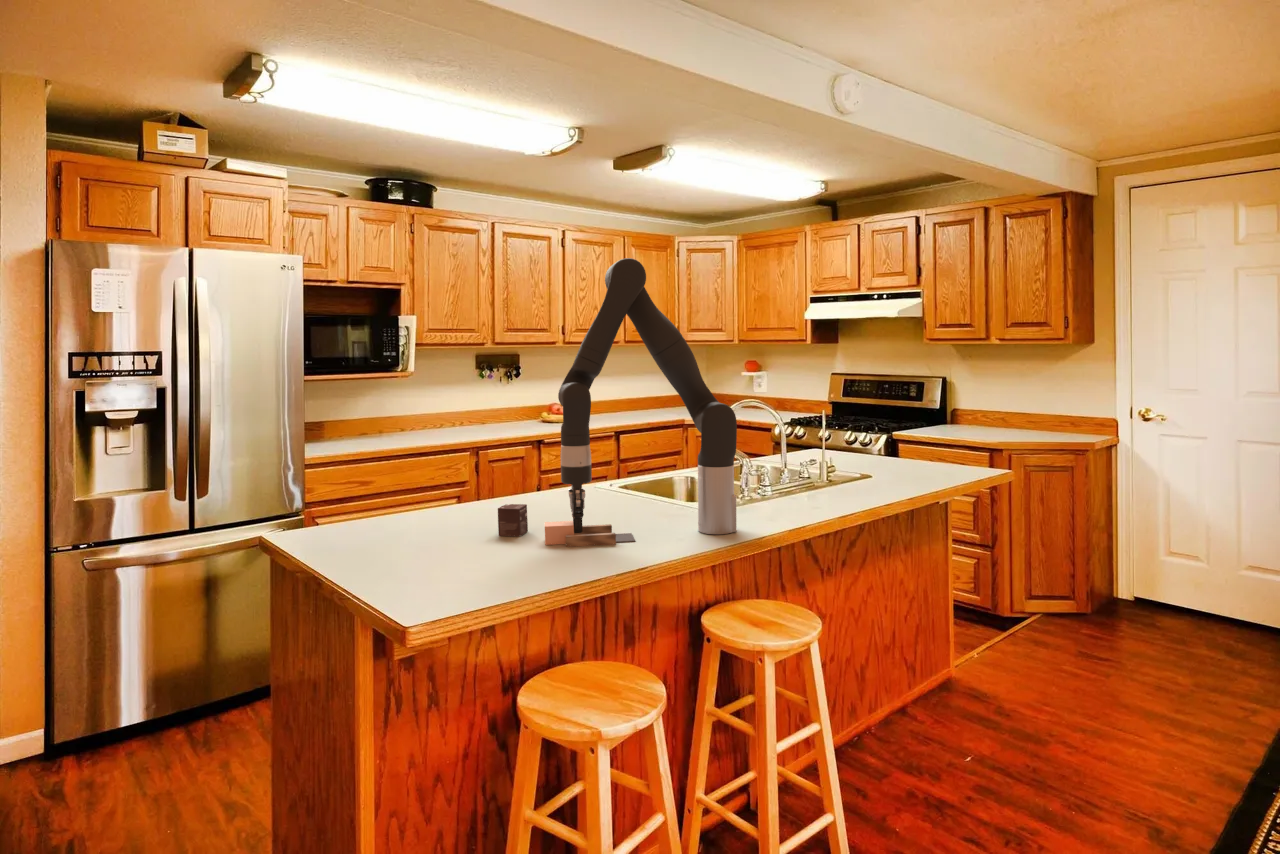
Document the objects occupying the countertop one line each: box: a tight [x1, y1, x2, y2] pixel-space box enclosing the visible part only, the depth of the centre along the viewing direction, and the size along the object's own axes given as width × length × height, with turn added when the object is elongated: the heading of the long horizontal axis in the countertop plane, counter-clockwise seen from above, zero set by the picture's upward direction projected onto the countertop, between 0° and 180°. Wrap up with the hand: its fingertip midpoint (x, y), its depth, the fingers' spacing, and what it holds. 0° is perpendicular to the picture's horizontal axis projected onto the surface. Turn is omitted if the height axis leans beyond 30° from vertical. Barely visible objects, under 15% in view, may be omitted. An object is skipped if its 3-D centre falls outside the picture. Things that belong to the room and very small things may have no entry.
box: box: [497, 503, 529, 537], centre depth 196 cm, size 6×6×7 cm
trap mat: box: [615, 532, 636, 544], centre depth 189 cm, size 5×8×1 cm, turn 8°
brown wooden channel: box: [565, 523, 617, 548], centre depth 188 cm, size 12×11×2 cm
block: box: [544, 520, 574, 546], centre depth 187 cm, size 7×5×4 cm
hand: (577, 532), depth 187 cm, fingers closed
